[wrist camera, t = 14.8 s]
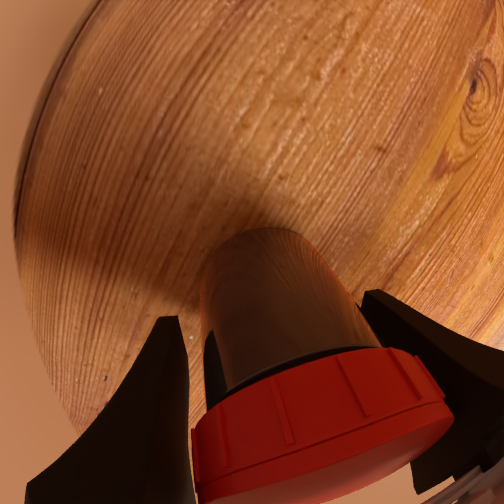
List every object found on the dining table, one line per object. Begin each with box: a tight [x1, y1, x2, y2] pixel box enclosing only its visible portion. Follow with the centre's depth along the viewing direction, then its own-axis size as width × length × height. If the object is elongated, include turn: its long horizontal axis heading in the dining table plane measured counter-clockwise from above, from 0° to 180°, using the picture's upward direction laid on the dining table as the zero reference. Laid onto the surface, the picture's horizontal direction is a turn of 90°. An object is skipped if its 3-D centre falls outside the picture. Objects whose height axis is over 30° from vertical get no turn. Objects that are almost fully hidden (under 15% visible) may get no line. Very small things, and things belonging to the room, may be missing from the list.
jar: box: [200, 228, 388, 413], centre depth 8 cm, size 5×5×8 cm
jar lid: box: [191, 347, 454, 504], centre depth 5 cm, size 6×6×2 cm
